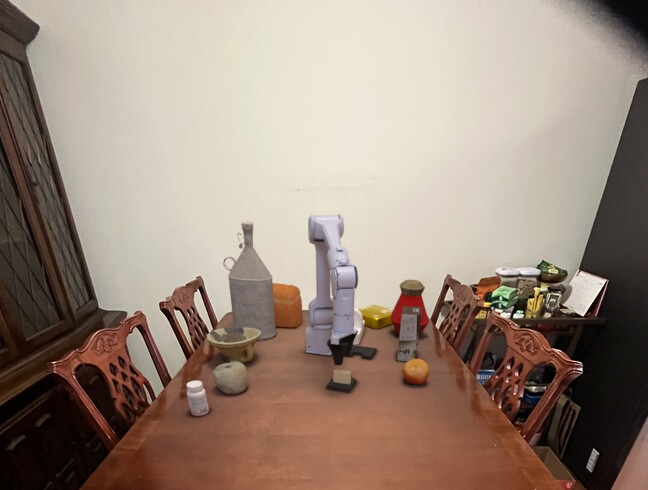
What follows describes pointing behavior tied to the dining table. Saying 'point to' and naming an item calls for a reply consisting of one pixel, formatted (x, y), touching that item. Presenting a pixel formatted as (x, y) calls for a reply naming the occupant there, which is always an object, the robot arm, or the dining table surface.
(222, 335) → the bowl
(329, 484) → the dining table surface
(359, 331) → the white slotted holder
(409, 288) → the bottle
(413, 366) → the fruit
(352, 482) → the dining table surface
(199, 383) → the pill bottle
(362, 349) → the base pad
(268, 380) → the dining table surface
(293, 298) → the bread
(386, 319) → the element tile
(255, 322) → the grey jug
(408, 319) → the coffee box
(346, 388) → the loose pad
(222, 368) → the stone
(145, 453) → the dining table surface
